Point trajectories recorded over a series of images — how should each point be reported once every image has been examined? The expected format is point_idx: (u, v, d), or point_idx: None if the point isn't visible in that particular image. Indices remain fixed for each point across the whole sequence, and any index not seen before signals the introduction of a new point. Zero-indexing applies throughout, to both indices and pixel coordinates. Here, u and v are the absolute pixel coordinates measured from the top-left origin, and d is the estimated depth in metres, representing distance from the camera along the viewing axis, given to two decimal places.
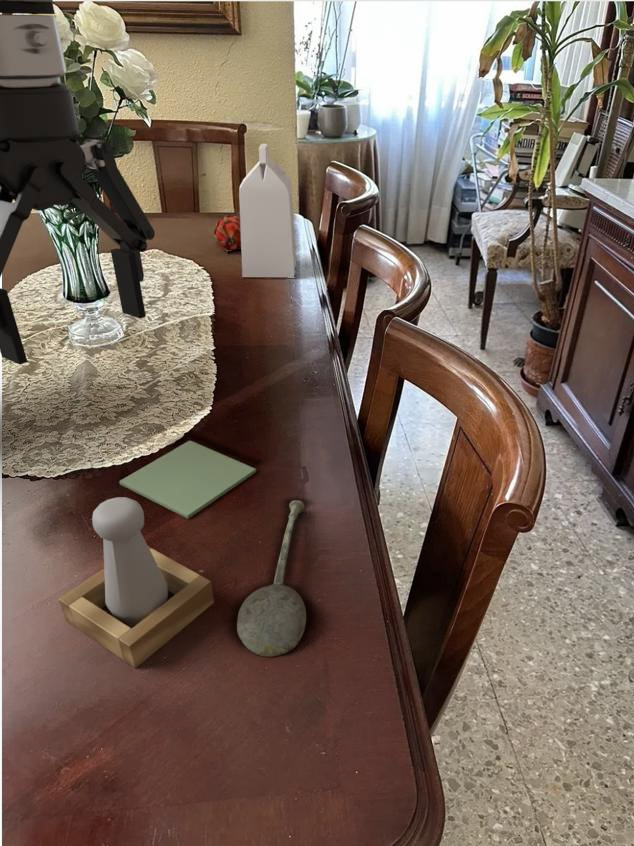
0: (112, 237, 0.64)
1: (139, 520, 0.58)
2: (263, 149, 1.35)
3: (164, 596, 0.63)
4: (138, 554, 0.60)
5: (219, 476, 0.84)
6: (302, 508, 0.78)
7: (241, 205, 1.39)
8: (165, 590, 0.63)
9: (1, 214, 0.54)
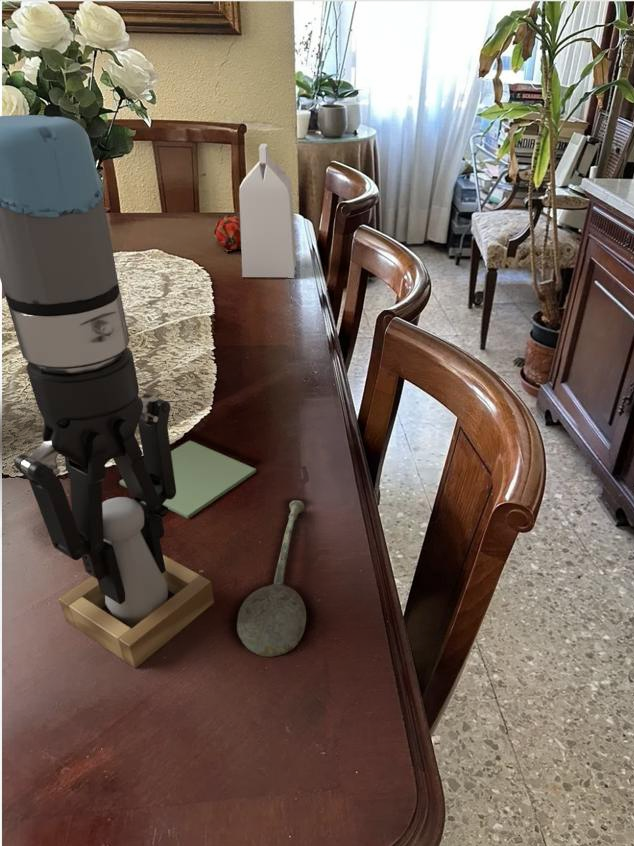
0: (134, 495, 0.60)
1: (140, 520, 0.58)
2: (263, 149, 1.35)
3: (164, 596, 0.63)
4: (138, 554, 0.60)
5: (219, 476, 0.84)
6: (302, 508, 0.78)
7: (241, 205, 1.39)
8: (165, 590, 0.63)
9: (80, 483, 0.53)
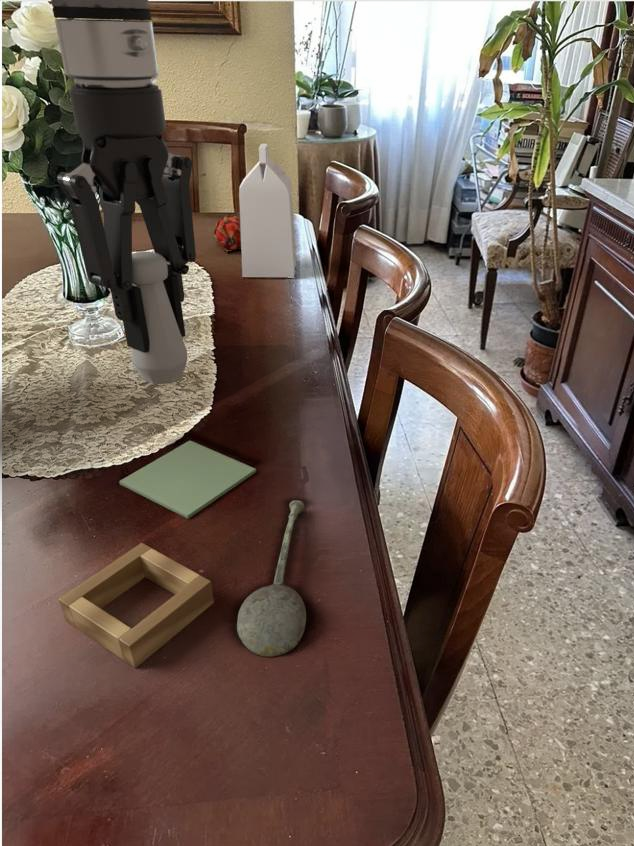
0: (158, 253, 0.67)
1: (164, 268, 0.65)
2: (263, 149, 1.35)
3: (184, 356, 0.70)
4: (162, 305, 0.66)
5: (219, 476, 0.84)
6: (302, 508, 0.78)
7: (241, 205, 1.39)
8: (185, 351, 0.70)
9: (113, 216, 0.60)
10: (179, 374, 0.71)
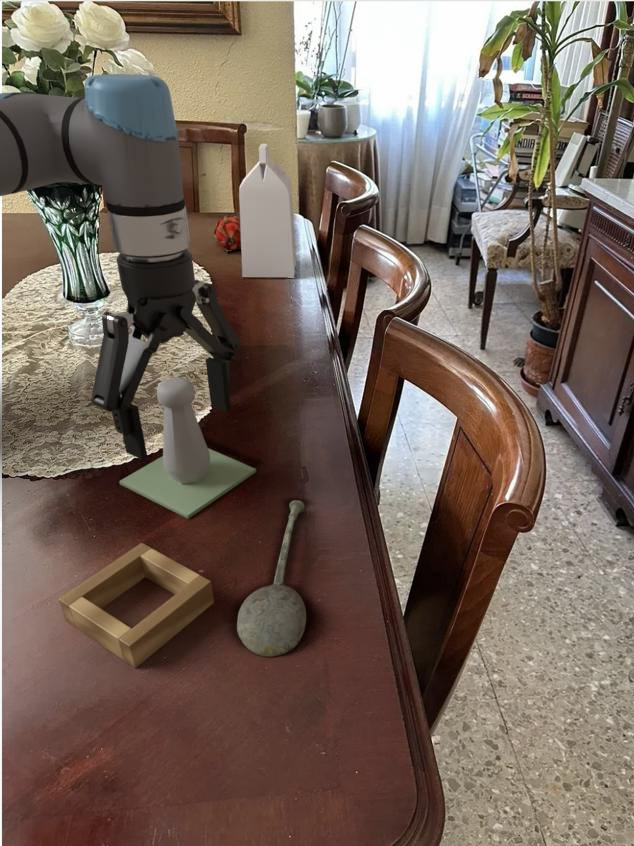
0: (208, 350, 0.80)
1: (192, 393, 0.76)
2: (263, 149, 1.35)
3: (208, 460, 0.82)
4: (190, 421, 0.78)
5: (219, 476, 0.84)
6: (302, 508, 0.78)
7: (241, 205, 1.39)
8: (208, 455, 0.82)
9: (136, 349, 0.70)
10: (203, 474, 0.83)
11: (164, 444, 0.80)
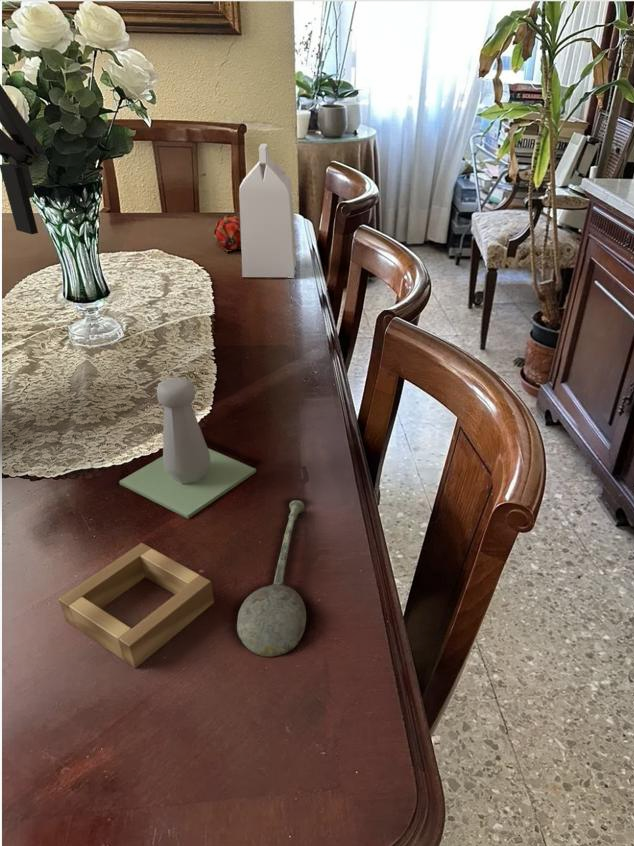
0: None
1: (192, 393, 0.76)
2: (263, 149, 1.35)
3: (208, 460, 0.82)
4: (190, 421, 0.78)
5: (219, 476, 0.84)
6: (302, 508, 0.78)
7: (241, 205, 1.39)
8: (208, 455, 0.82)
9: None
10: (203, 474, 0.83)
11: (164, 444, 0.80)
